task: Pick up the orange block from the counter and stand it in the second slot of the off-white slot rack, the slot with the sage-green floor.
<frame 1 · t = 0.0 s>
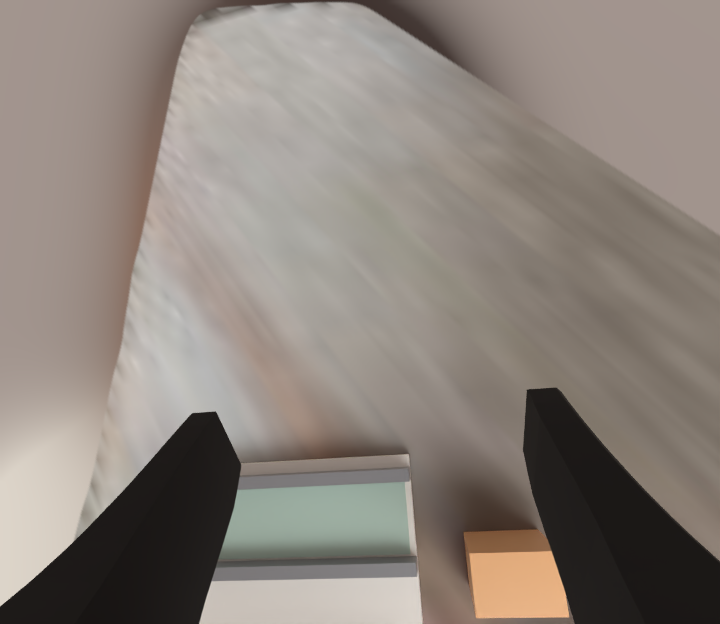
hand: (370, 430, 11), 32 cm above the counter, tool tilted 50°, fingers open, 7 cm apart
orange block: (503, 556, 39), on the counter
slot rack: (302, 562, 41), on the counter
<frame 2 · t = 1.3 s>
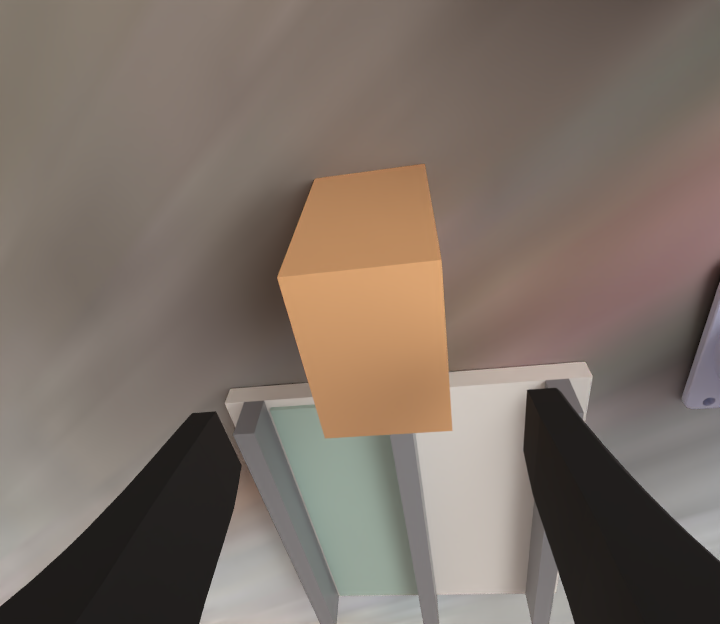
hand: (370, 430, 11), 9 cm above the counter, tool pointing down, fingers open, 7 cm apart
orange block: (379, 245, 19), on the counter
slot rack: (416, 498, 28), on the counter
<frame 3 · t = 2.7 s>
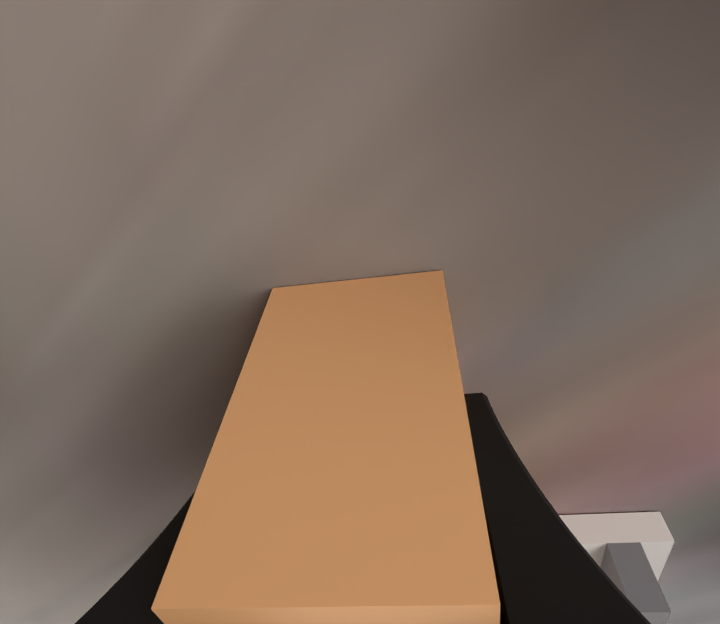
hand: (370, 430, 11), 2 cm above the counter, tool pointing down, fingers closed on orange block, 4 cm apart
orange block: (373, 374, 13), on the counter, touching gripper
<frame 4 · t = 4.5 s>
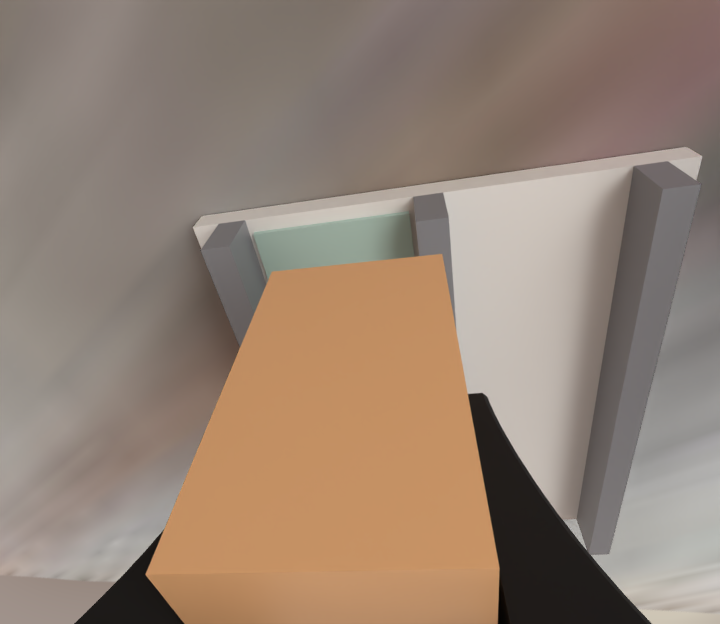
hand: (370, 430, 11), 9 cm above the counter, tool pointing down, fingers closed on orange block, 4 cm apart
orange block: (372, 361, 13), point 7 cm above the counter, touching gripper
slot rack: (445, 386, 22), on the counter
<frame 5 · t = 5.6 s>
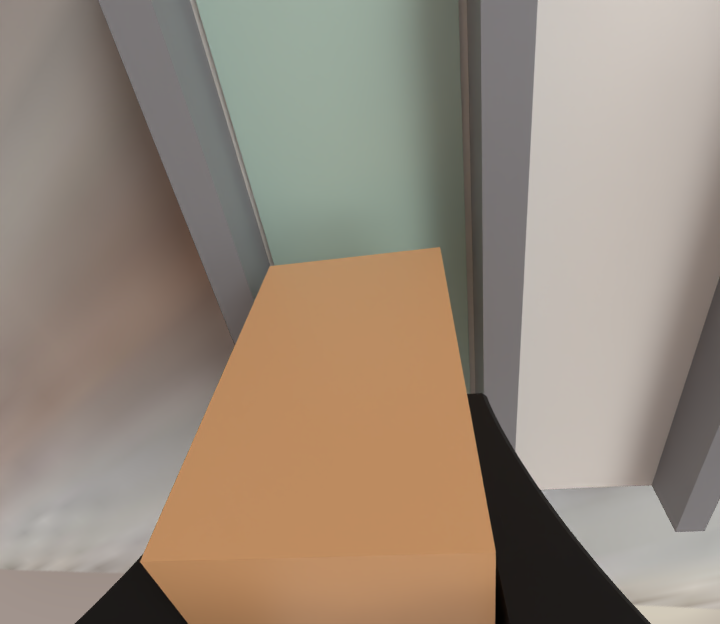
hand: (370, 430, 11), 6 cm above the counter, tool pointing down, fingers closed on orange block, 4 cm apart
orange block: (371, 356, 13), point 4 cm above the counter, touching gripper
slot rack: (484, 282, 15), on the counter
when the fingers open (4 cm above the counter, at t = 6.3 s): orange block stays where it is, resting on slot rack.
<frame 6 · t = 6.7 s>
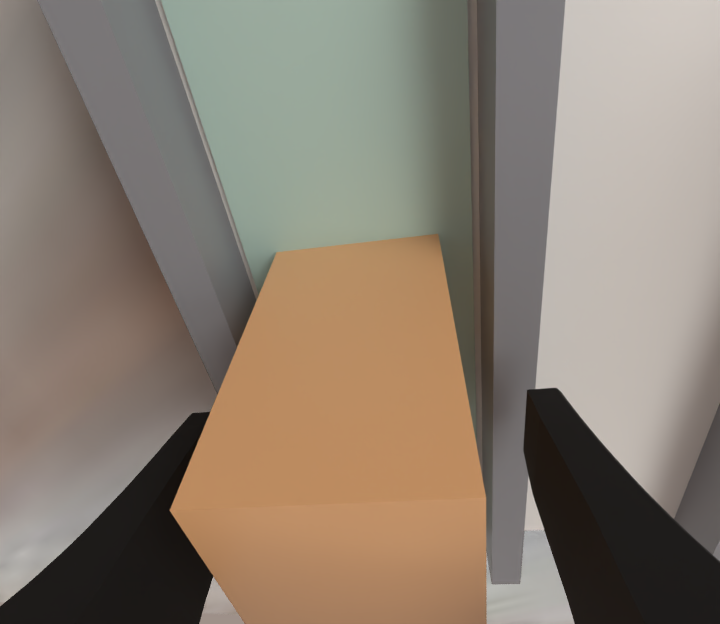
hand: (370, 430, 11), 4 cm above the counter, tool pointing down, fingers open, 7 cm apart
orange block: (372, 338, 13), point 1 cm above the counter, touching slot rack
slot rack: (492, 314, 14), on the counter
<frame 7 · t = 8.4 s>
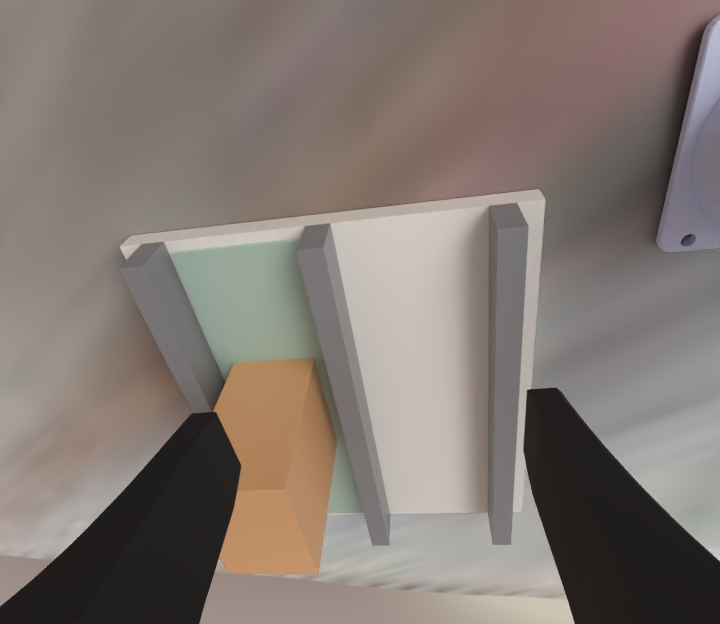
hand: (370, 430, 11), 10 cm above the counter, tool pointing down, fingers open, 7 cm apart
orange block: (288, 404, 24), point 1 cm above the counter, touching slot rack
slot rack: (359, 389, 25), on the counter
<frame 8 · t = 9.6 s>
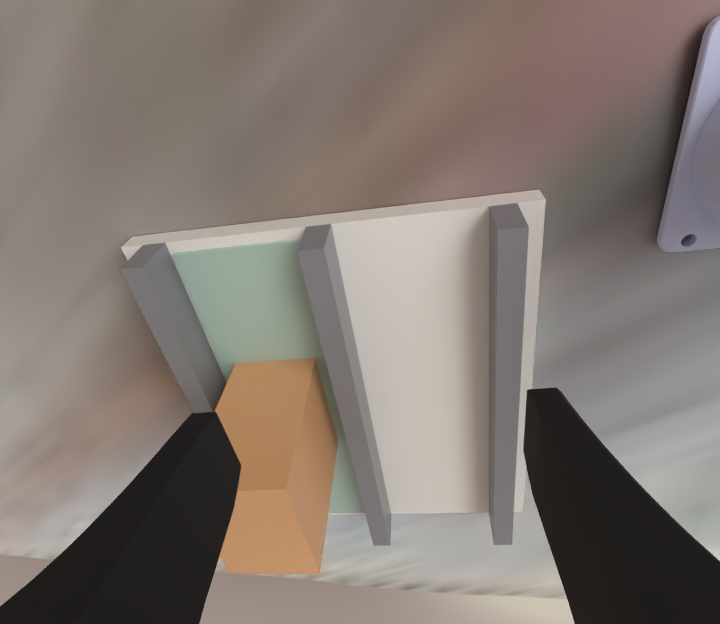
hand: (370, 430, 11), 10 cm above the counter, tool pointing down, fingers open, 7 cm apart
orange block: (289, 404, 24), point 1 cm above the counter, touching slot rack
slot rack: (360, 389, 25), on the counter
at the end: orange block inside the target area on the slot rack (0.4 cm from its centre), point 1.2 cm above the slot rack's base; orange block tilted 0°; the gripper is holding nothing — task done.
